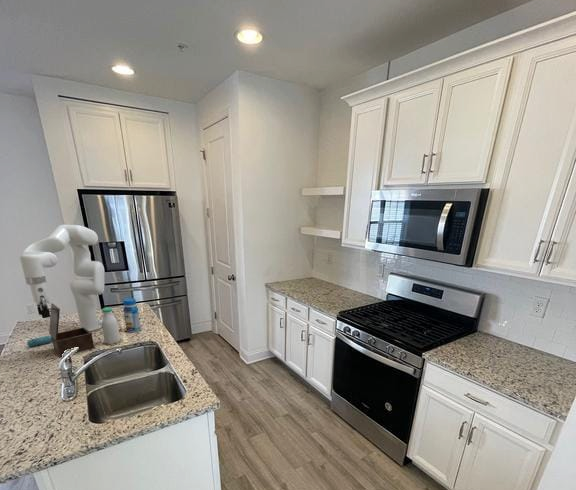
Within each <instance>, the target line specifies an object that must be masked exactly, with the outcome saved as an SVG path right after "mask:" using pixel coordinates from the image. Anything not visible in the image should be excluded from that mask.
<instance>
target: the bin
mask: <svg viewBox="0 0 576 490" xmlns="http://www.w3.org/2000/svg"><path fill="white" fill-rule="evenodd" d="M50 336H51V335H50ZM51 339H52V341H51V343H52V347H53V351H55V353H56V354H57V356H59V357H60V358H63V357H62V354H63V353H64V351H65V350H67V349H71V348H74V347H79V350H78V351H77V352H75V353H74V354H78V353H81V352H85V351H89V350H92V349H95V344H94V338H93V333H92V331H88V330H87V329H85V328H84V327H82V328H79V327H78V328H74V329H70V330H63V331H60V332H58V340H57V341H56V340H55V339H54V338H53V337H52V336H51Z"/></svg>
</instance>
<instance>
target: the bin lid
mask: <svg viewBox="0 0 576 490" xmlns="http://www.w3.org/2000/svg"><path fill="white" fill-rule="evenodd" d="M48 309H49V312H50V317H49V328H48V329H49V331H48V334H49V336H52V337H53V338H54V339H55V340H56V341H57V340H58V333H59V325H60V313H61V312H60V310H61V308H60V307H58V306H57V305H55V304H54V303H53V302H52V303H51V302H50V307H48Z"/></svg>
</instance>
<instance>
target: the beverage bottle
mask: <svg viewBox="0 0 576 490" xmlns="http://www.w3.org/2000/svg"><path fill="white" fill-rule="evenodd" d="M122 301H123V317H124V321H125V329H126V332H129V333H134V332H138V331H141V328H142V327H141V321H140V312H139V308H138V306H137V305H136V304H137V301H136V298H134V297H127V298H123V300H122Z"/></svg>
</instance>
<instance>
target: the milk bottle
mask: <svg viewBox="0 0 576 490" xmlns="http://www.w3.org/2000/svg"><path fill="white" fill-rule="evenodd" d="M102 314H103V316H102V319H101V320H102V324H101V325H102V327H101V328H102V333H103V338H104V339H103V340H104V343H105V344H107V345H113V344H117V343H119V342H120V341H121V335H120V329H119V324H118V321H117V318H115V316H114V314H113V309H112V307H103V308H102Z"/></svg>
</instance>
